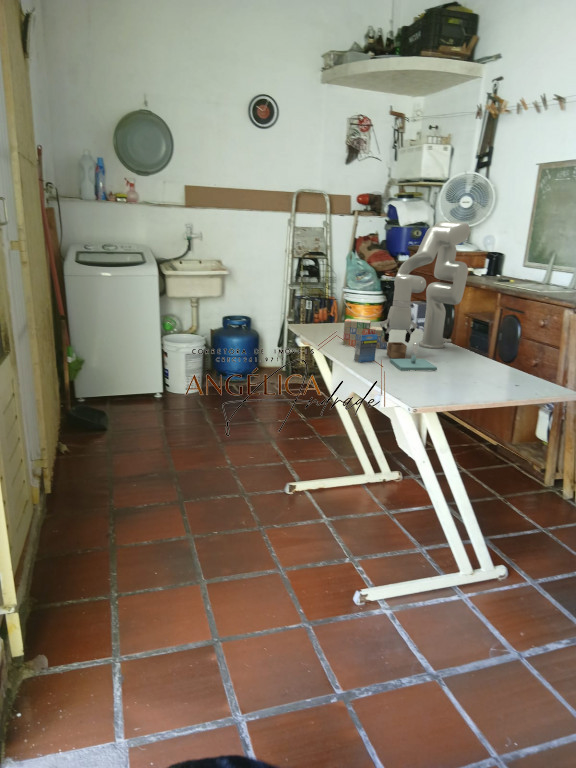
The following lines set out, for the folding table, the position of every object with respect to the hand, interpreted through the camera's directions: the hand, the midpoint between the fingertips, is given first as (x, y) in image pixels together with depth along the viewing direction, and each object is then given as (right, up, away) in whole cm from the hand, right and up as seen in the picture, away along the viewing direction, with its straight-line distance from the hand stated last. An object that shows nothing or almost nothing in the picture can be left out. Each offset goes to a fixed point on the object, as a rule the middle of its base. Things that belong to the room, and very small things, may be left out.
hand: (396, 341), depth 251 cm
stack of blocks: (-12, -1, +21) cm, 24 cm away
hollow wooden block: (0, -7, +3) cm, 7 cm away
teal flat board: (+5, -11, -12) cm, 17 cm away
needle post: (+5, -10, -12) cm, 17 cm away
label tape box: (-16, -9, -6) cm, 19 cm away
